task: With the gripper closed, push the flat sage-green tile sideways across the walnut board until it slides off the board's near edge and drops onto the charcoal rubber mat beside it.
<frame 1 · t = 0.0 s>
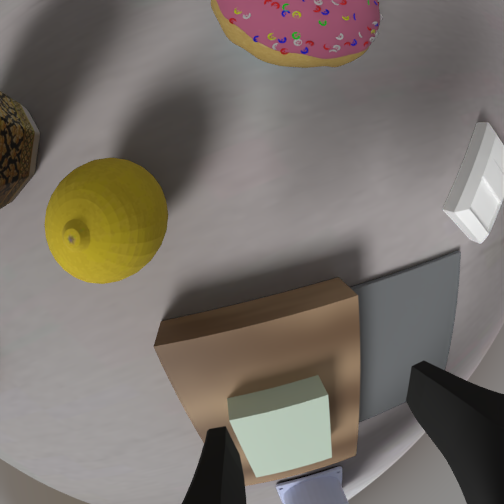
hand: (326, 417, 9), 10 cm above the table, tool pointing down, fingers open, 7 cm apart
tile: (282, 423, 18), point 3 cm above the table, touching board
board: (274, 397, 21), on the table
soap bar: (471, 180, 19), on the table
mat: (406, 346, 22), on the table
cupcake: (280, 31, 14), on the table
lemon: (132, 206, 16), on the table
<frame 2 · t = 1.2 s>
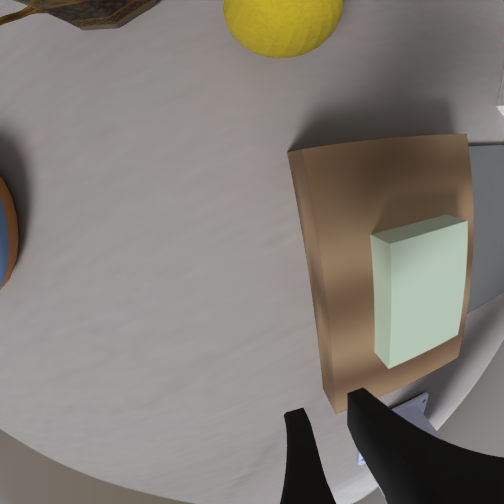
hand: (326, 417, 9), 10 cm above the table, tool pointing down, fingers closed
ceramic cup: (99, 7, 12), on the table
tile: (413, 285, 16), point 3 cm above the table, touching board
board: (389, 270, 19), on the table
mat: (488, 229, 20), on the table
lemon: (266, 38, 14), on the table
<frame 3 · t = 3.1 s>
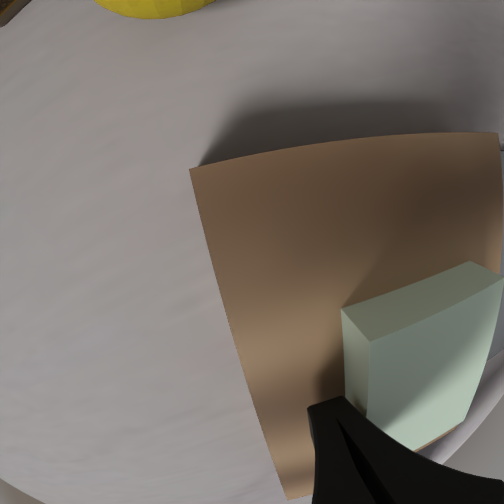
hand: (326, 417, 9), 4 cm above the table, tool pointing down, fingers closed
tile: (409, 367, 10), point 3 cm above the table, touching board, gripper
board: (369, 336, 13), on the table
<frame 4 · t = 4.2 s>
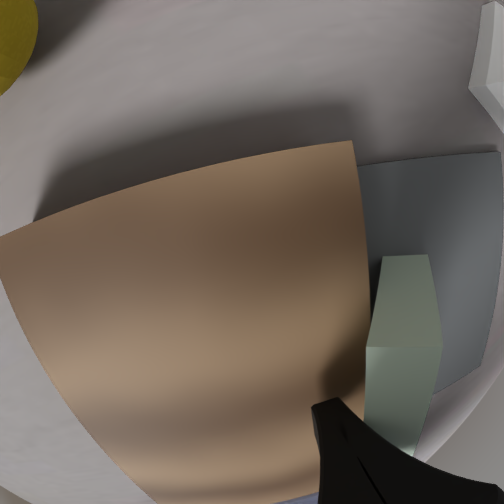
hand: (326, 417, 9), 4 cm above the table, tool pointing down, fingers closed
tile: (376, 376, 10), point 3 cm above the table, tilted 55°, touching gripper, mat
board: (218, 379, 13), on the table
soap bar: (494, 68, 10), on the table
mat: (438, 300, 13), on the table
lemon: (21, 65, 8), on the table
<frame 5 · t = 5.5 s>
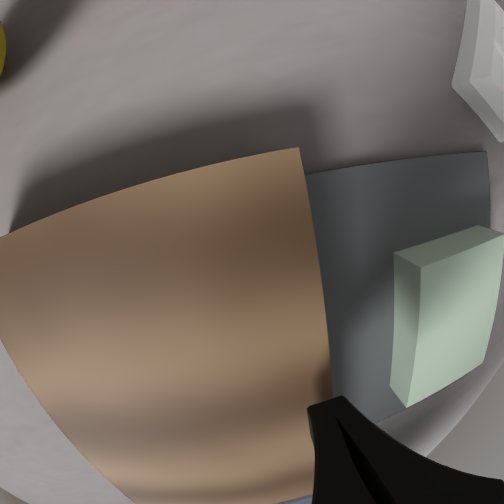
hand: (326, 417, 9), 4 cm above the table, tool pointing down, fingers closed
tile: (461, 327, 11), point 2 cm above the table, tilted 180°, touching mat
board: (185, 385, 12), on the table
soap bar: (481, 63, 10), on the table
mat: (417, 309, 13), on the table
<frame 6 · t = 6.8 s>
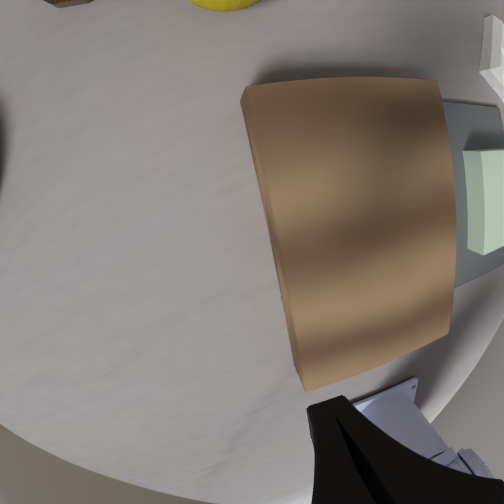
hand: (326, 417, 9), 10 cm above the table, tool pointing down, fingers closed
tile: (503, 199, 16), point 2 cm above the table, tilted 180°, touching mat
board: (361, 228, 18), on the table
soap bar: (492, 59, 16), on the table
mat: (475, 193, 19), on the table
lemon: (223, 0, 13), on the table
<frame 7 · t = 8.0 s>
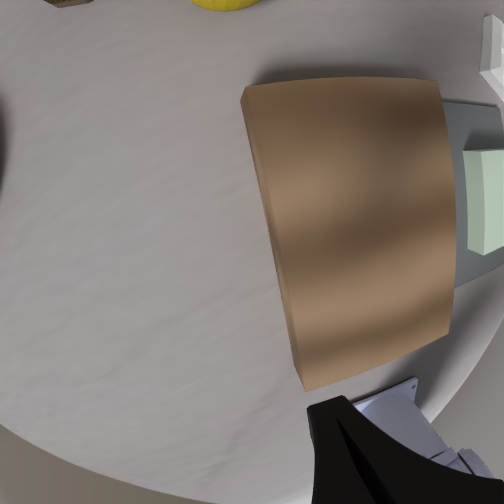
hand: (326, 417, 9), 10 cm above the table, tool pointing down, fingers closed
tile: (503, 199, 16), point 2 cm above the table, tilted 180°, touching mat
board: (361, 228, 18), on the table
soap bar: (492, 59, 16), on the table
mat: (475, 193, 19), on the table
lemon: (223, 0, 13), on the table
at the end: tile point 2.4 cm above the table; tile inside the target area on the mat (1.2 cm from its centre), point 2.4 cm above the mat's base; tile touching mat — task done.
